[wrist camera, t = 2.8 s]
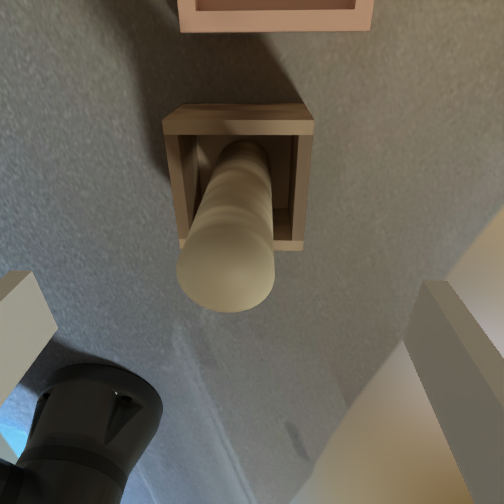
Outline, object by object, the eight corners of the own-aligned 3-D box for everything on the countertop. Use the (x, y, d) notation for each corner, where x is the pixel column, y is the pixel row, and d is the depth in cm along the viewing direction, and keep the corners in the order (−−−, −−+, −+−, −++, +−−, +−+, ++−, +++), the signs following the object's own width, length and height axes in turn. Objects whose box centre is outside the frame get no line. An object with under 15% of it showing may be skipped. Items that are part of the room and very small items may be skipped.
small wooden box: (195, 211, 28) (180, 248, 23) (184, 103, 24) (161, 120, 19) (296, 213, 28) (302, 250, 23) (304, 103, 23) (314, 120, 18)
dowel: (219, 190, 26) (182, 311, 15) (216, 139, 24) (169, 232, 12) (269, 191, 26) (273, 313, 14) (271, 139, 24) (276, 233, 12)
